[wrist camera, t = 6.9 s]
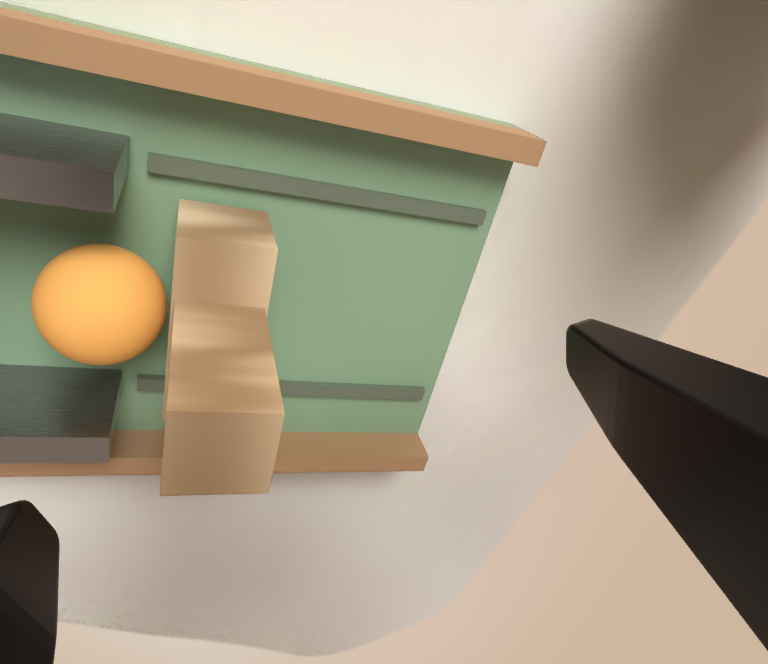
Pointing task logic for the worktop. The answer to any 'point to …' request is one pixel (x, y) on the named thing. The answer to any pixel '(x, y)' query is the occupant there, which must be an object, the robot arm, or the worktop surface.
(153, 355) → the pitch
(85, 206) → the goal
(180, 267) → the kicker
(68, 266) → the ball
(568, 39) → the worktop surface
